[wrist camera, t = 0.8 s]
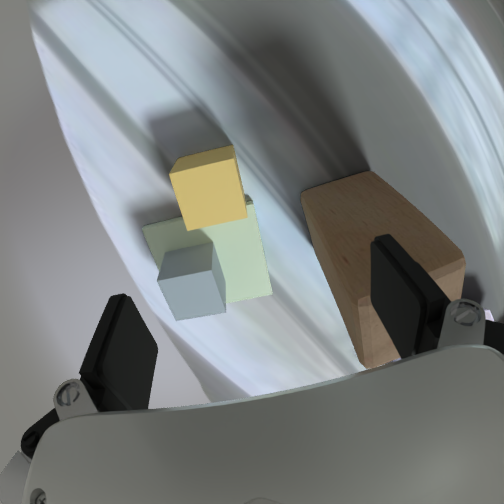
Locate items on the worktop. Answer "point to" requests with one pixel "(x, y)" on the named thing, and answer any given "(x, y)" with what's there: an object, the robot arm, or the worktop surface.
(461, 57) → the worktop surface
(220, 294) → the slate brick
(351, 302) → the block
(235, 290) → the plate
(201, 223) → the ochre brick
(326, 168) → the worktop surface
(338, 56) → the worktop surface
